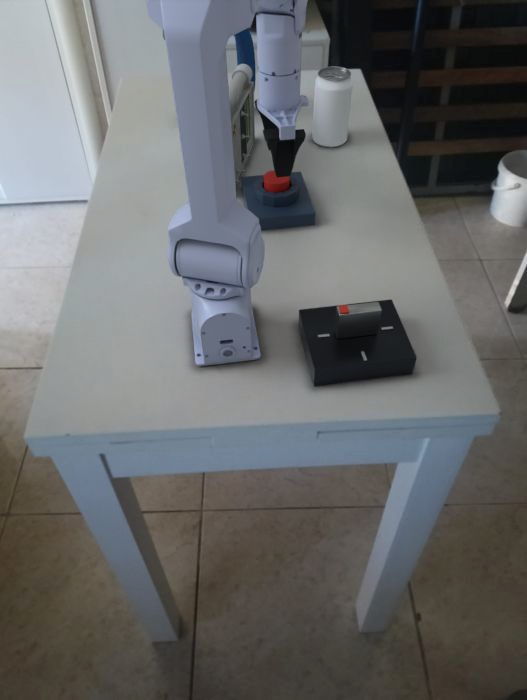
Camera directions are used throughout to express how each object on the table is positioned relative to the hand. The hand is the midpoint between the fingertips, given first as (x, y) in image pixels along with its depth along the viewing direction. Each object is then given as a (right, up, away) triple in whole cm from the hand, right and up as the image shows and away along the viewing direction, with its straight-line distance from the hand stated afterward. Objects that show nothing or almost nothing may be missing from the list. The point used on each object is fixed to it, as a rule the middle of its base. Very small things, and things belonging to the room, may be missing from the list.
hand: (278, 161), depth 85 cm
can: (+10, +11, +21) cm, 26 cm away
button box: (0, -5, +7) cm, 8 cm away
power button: (0, -3, +4) cm, 5 cm away
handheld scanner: (-12, +17, +27) cm, 34 cm away
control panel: (+9, -28, -14) cm, 32 cm away
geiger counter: (-7, +6, +17) cm, 19 cm away
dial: (+9, -26, -16) cm, 32 cm away
